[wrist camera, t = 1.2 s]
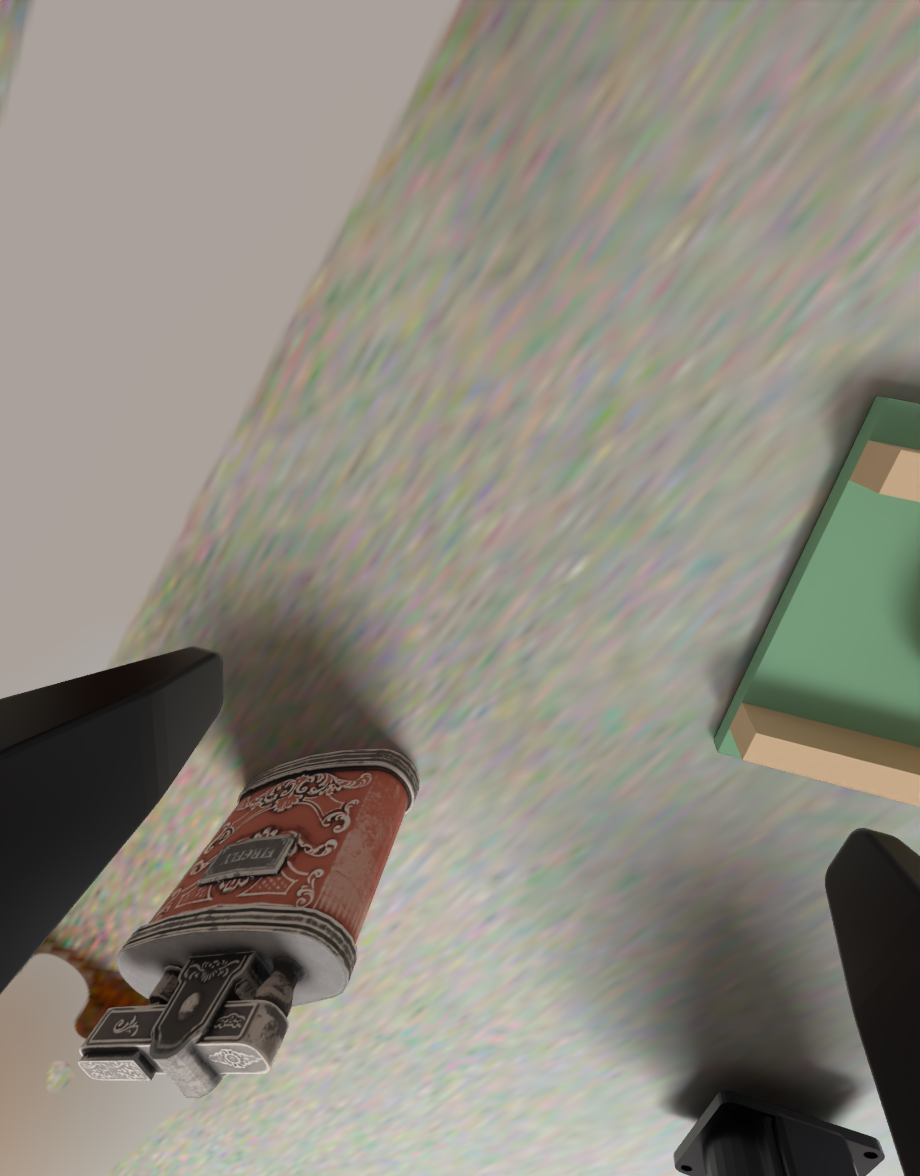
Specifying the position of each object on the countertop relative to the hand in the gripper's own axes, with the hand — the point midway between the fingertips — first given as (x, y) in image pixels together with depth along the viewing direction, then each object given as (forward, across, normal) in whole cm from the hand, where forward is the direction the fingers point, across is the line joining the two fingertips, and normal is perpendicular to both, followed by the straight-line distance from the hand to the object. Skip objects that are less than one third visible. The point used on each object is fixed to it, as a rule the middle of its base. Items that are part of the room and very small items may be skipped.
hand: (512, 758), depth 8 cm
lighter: (+10, +6, +12) cm, 17 cm away
